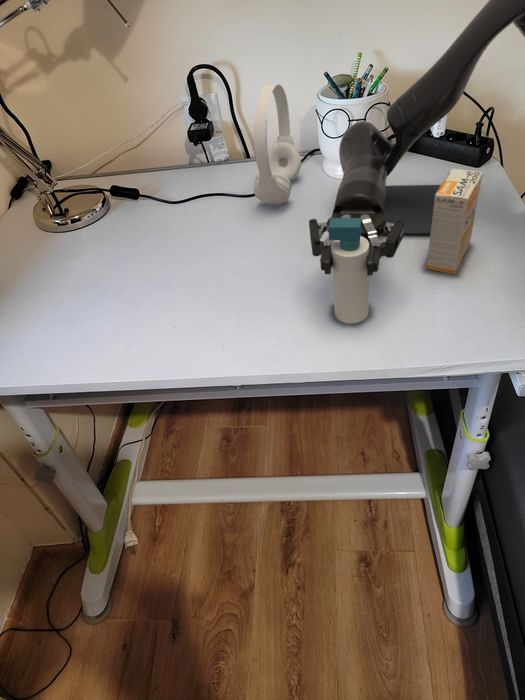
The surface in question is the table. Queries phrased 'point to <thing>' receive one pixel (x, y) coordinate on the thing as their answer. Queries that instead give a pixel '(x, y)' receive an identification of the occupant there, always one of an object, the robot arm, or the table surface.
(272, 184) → the headphones
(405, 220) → the mat
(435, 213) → the supplement box
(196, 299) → the table surface
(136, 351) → the table surface
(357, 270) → the spray bottle
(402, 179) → the table surface
